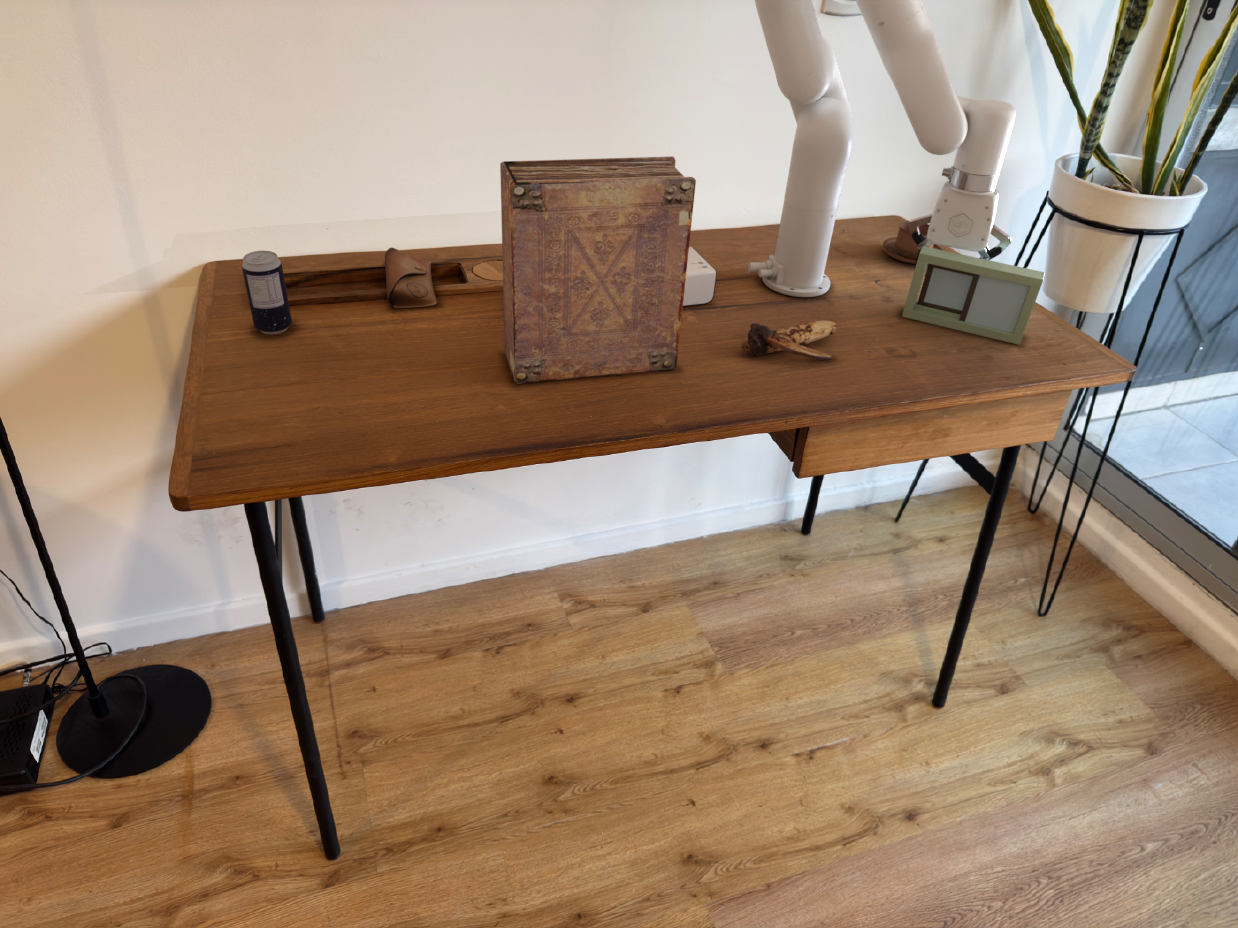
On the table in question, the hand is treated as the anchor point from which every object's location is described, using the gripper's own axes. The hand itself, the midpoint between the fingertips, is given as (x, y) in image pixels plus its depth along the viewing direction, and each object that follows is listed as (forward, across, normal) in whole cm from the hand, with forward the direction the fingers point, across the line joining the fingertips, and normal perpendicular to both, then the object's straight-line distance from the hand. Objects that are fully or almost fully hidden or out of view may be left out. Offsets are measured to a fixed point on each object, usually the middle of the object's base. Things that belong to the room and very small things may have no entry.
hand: (947, 274), depth 159 cm
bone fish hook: (+5, -19, -32) cm, 37 cm away
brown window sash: (+4, +1, -3) cm, 5 cm away
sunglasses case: (+4, -85, -44) cm, 96 cm away
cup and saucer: (+6, -9, +20) cm, 22 cm away
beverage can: (+3, -94, -68) cm, 116 cm away
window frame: (+6, +5, -7) cm, 10 cm away
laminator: (+4, -53, -30) cm, 61 cm away
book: (+5, -46, -52) cm, 70 cm away
